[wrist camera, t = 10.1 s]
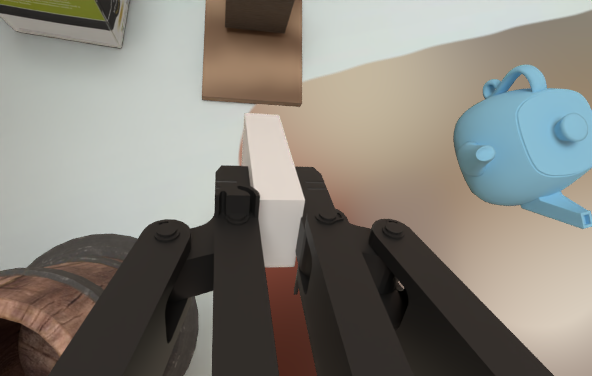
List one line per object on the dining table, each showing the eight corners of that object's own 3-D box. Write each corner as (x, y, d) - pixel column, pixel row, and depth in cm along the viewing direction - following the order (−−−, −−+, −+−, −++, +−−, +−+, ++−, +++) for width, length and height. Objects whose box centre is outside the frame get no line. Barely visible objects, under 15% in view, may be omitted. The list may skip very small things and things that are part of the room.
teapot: (513, 247, 44) (610, 246, 33) (412, 179, 43) (479, 154, 32) (563, 138, 48) (666, 105, 37) (472, 73, 47) (550, 18, 36)
